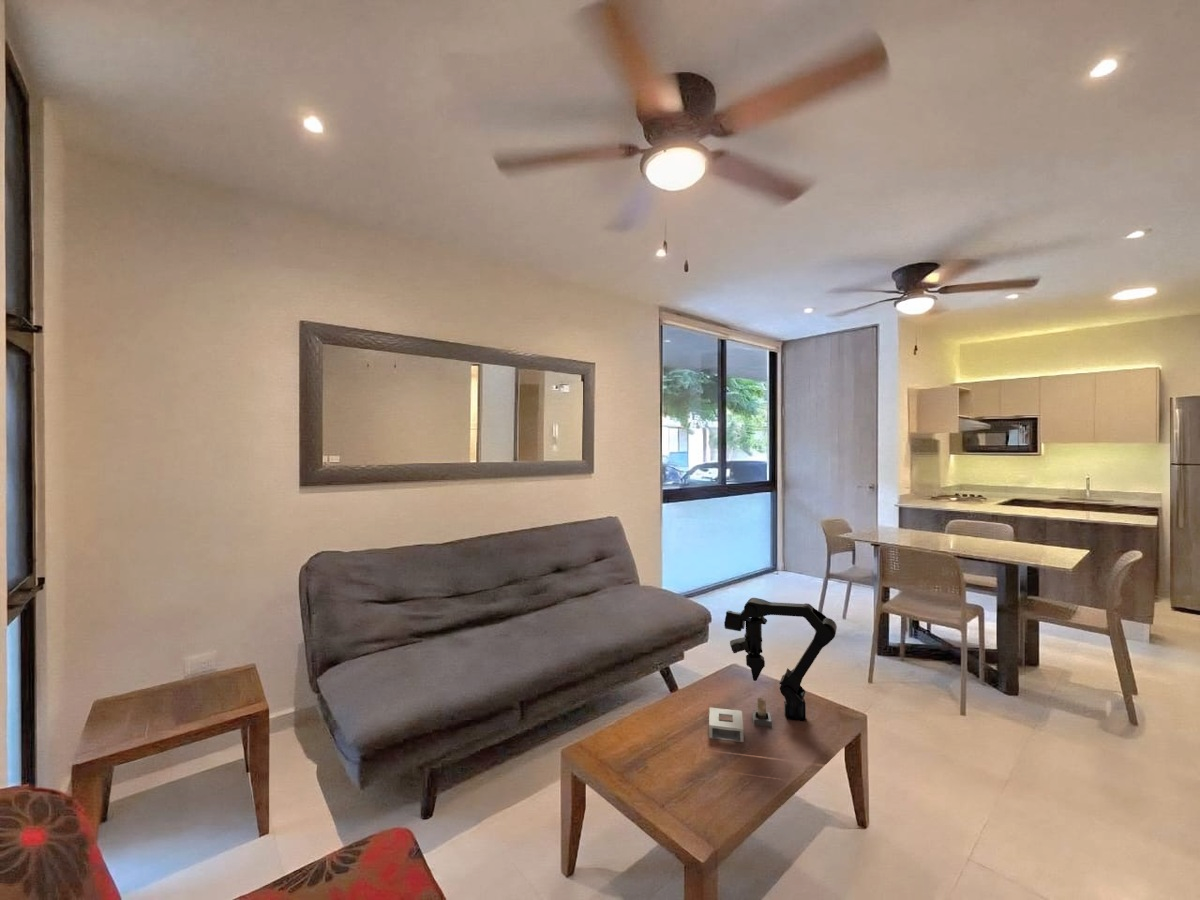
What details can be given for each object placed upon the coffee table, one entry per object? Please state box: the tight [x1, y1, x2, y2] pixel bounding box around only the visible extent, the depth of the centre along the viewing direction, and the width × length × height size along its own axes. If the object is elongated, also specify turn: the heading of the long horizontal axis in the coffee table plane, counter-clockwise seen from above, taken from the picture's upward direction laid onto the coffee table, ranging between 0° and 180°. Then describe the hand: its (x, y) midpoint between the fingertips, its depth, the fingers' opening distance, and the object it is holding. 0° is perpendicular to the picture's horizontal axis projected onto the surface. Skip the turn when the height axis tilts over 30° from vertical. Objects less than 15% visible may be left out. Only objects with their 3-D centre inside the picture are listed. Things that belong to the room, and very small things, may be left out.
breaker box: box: [708, 707, 744, 743], centre depth 169 cm, size 11×11×5 cm
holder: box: [752, 710, 773, 728], centre depth 174 cm, size 6×6×2 cm
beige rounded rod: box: [757, 697, 767, 720], centre depth 174 cm, size 3×3×8 cm
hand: (753, 674), depth 184 cm, fingers open, 9 cm apart
